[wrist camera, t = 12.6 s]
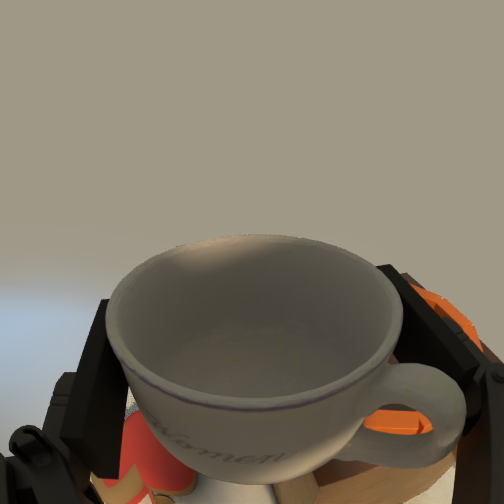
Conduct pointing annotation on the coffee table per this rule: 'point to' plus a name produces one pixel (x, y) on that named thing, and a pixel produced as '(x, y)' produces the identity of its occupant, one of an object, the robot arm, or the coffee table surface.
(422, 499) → the coffee table surface
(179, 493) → the decorative object
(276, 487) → the plinth
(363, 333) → the teacup
